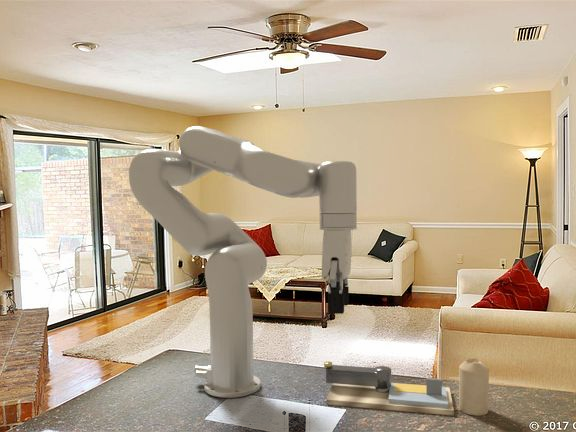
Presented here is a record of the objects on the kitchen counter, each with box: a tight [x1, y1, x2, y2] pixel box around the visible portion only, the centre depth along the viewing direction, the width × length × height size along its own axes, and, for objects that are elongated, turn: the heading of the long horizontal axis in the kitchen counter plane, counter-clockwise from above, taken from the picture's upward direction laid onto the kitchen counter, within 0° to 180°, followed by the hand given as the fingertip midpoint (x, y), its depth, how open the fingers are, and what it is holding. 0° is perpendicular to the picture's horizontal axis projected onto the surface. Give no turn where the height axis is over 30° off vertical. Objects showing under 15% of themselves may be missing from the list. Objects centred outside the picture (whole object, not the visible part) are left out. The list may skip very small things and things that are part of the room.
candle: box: [458, 357, 490, 417], centre depth 102 cm, size 6×6×10 cm
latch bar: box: [323, 361, 392, 388], centre depth 111 cm, size 14×4×4 cm, turn 76°
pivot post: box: [375, 387, 390, 393], centre depth 110 cm, size 3×3×2 cm
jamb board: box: [325, 383, 455, 416], centre depth 108 cm, size 25×12×1 cm, turn 76°
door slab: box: [389, 377, 448, 408], centre depth 106 cm, size 12×9×4 cm
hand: (338, 308), depth 105 cm, fingers open, 6 cm apart
